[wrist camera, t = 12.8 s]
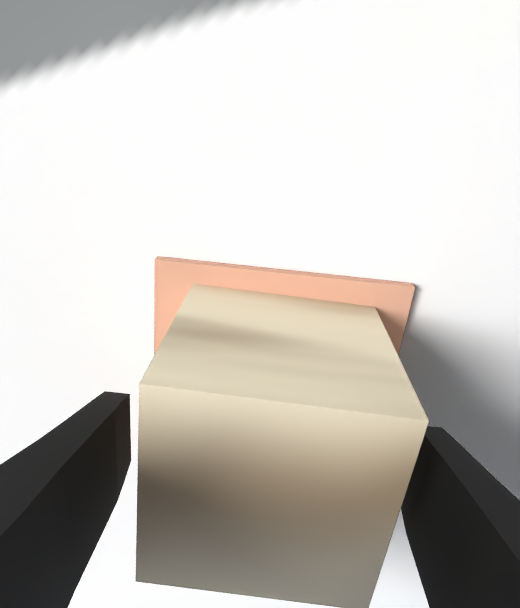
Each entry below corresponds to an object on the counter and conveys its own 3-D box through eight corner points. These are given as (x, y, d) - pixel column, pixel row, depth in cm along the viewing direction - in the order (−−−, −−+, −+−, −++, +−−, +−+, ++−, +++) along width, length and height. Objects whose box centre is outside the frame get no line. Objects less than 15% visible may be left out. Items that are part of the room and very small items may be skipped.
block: (340, 451, 14) (367, 610, 10) (183, 430, 14) (135, 581, 10) (375, 306, 12) (428, 420, 8) (193, 283, 12) (139, 383, 8)
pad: (364, 479, 15) (366, 486, 15) (156, 457, 15) (153, 463, 15) (412, 283, 12) (415, 287, 12) (157, 256, 12) (154, 259, 12)
